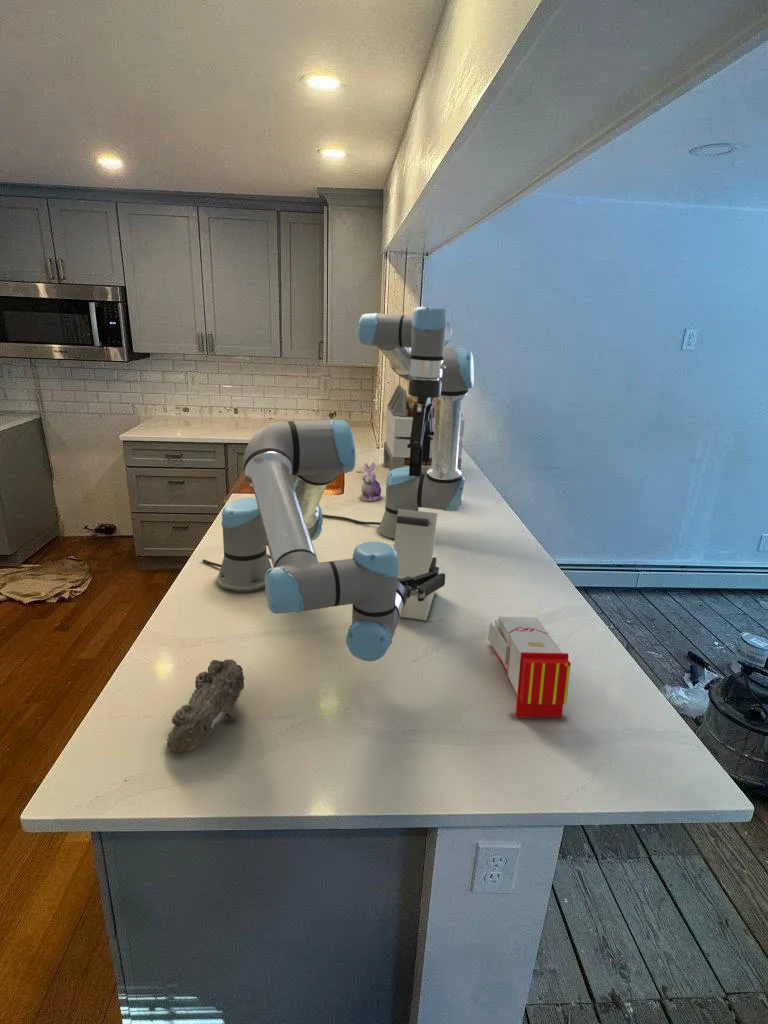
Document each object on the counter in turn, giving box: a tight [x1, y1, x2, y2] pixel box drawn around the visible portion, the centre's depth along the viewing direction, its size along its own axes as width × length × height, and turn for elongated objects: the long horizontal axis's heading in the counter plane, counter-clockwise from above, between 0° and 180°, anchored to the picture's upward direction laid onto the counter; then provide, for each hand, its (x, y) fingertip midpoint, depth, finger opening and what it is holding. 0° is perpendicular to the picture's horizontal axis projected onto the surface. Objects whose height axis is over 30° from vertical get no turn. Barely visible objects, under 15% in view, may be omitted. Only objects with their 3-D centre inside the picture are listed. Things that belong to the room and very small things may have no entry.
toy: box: [487, 616, 572, 718], centre depth 123 cm, size 12×13×30 cm
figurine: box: [360, 462, 382, 502], centre depth 233 cm, size 9×10×15 cm
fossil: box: [166, 658, 245, 754], centre depth 106 cm, size 22×10×15 cm
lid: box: [393, 509, 438, 577], centre depth 139 cm, size 16×10×8 cm
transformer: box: [383, 384, 465, 472], centre depth 268 cm, size 34×33×41 cm
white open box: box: [398, 555, 438, 621], centre depth 151 cm, size 16×10×11 cm, turn 168°
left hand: (404, 559), depth 129 cm, fingers open, 13 cm apart
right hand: (419, 468), depth 137 cm, fingers open, 13 cm apart
